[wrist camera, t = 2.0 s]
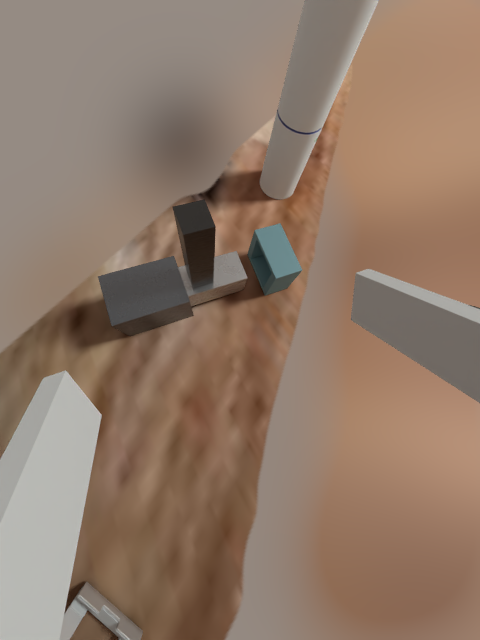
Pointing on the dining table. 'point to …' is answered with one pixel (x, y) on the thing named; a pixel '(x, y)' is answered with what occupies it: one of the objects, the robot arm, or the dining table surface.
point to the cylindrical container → (311, 86)
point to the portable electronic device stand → (98, 615)
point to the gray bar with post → (205, 256)
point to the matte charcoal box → (145, 296)
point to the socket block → (273, 259)
